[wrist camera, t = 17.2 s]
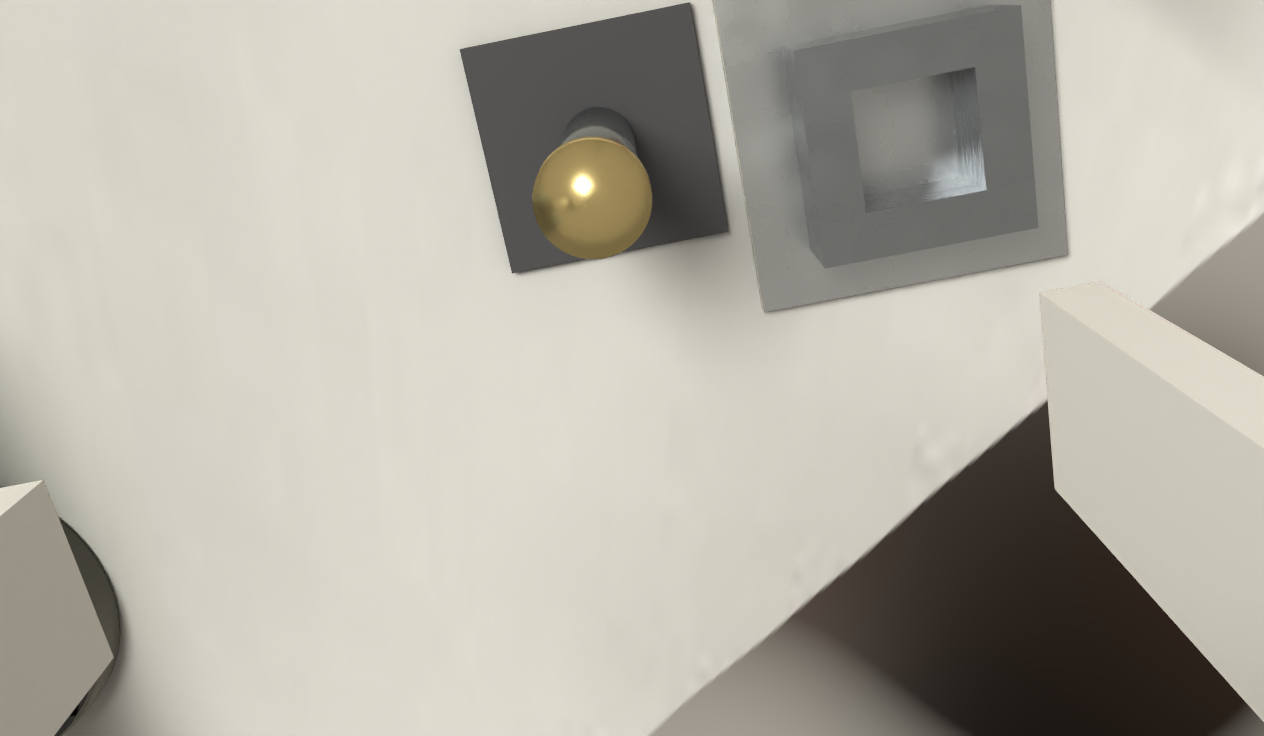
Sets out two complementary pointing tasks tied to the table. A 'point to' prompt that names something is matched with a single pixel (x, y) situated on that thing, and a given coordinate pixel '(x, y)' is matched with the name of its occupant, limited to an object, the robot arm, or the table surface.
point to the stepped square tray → (892, 140)
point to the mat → (598, 77)
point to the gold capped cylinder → (593, 187)
